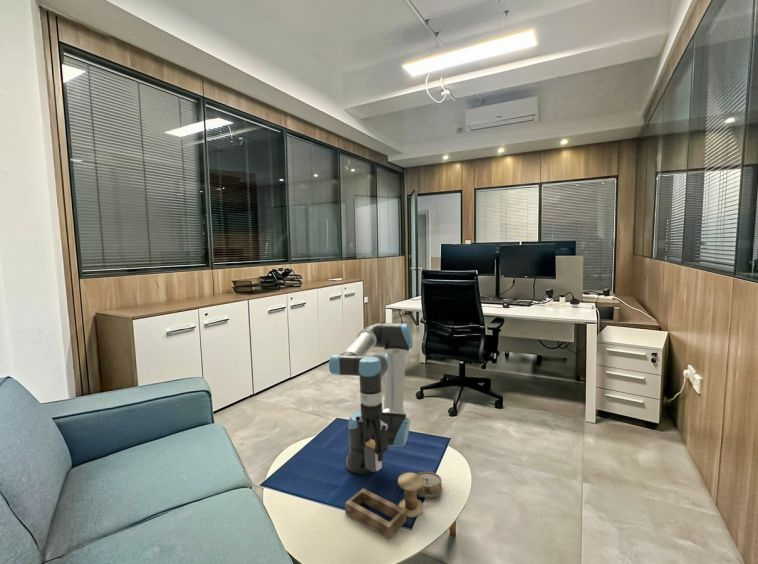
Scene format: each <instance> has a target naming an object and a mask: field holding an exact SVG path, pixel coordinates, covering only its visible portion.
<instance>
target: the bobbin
mask: <svg viewBox="0 0 758 564" xmlns="http://www.w3.org/2000/svg"><path fill="white" fill-rule="evenodd" d="M397 484H398V486H399V487H400V488H401V489H403V490H404V498H403V499H402V500H401V501H399V504H398V506H399V507H401V508H403V509H405V510H406V518H416V517H419V516H420V515H422V514H423V512H424V503H423V502H422V501H421V500H420V499H418V496H417V489H419V488H421V487H422V485H423V479H422V477H421V476H420V475H418V473H416V472H405V473H402V474H400V475H399V476H398V478H397Z"/></svg>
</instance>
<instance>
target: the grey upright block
mask: <svg viewBox="0 0 758 564" xmlns="http://www.w3.org/2000/svg"><path fill="white" fill-rule="evenodd" d="M376 451H377V450H376V445H375V440H372V439H370V440H368V441H367V442H366V446H365V468H366V469H368V470H371V471H373V472H372V473H375V472H377V471H376V469H375V452H376Z"/></svg>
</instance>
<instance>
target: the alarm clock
mask: <svg viewBox="0 0 758 564" xmlns="http://www.w3.org/2000/svg"><path fill="white" fill-rule="evenodd" d="M417 474H418V475H420V476H421V477H422V479H423V485H422V487H421V488H419V489H417V497H419V498H422V497H423V498H425V499H432V498H438V497H439V496H440V495H441V492H442V489H443V488H442V477H441V476H440V475H438V474H436V473H435V472H432V471H420V472H418V473H417Z"/></svg>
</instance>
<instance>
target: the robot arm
mask: <svg viewBox="0 0 758 564" xmlns="http://www.w3.org/2000/svg"><path fill="white" fill-rule="evenodd" d="M413 345H414V344H413V334H412V329H411V326H410V325H409V324H408V323H403V322H402V323H401V322H396V323H392V322H389V323H387V322H385V323H384V322H378V323H372V324H370V325H368V326H367V327H364V328H363V329H362V330H360V332H358V334H357V335H356V339H355V340H354V341H353V342H352V343H351V344H350V345H349V346H348V347H347V348H346V349H345V350H344V351H343V353H342V354H333V355H331V356H330V359H329V361H328V369H329V373H330V374H331V375H333V376H334V375H336V376H353V377H359V395H360V410H359V411H356V412H354V413H352V414H351V415H350V416H349V418H348V439H349V441H348V443H349V449H348V451H347V452H348V453H347V457H346V459H345V462H346V463H345V464H346V469H347V470H348V471H350V473H351V472H352V473H354V474H357V475H365V474H369V473H374V472H373V471H371V470H368V469H366V468H365V446H366V442H367V441H368V440H370V439H372V440H375V445H376V450H377V451H376V452H375V469H376V471H375V472H378V471H379V470H380V469H382V468H383V460H384V453H386V452H387V451H388V449H389V448H388V447H394V448H395V447H404V446H405V445H406V443H407V442H408V441H407V440H408V438H409V431H410V422H411V421H410V419H409V418H408V417H407V413H406V412H405V410H404V395H405V393H404V392H405V377H406V376H405V374H406V373H405V372H406V371H405V370H406V356H407V355H408V354H409V353H410V350H411V349H412V348H413ZM374 348H384V349H383V351H384V353H385V354H386V355H385V354H383V353H381V352H379V353H375V354H373V355H367V353H368V352H369V351H370V350H372V349H374ZM383 376H385V383H384V385H385V386H384V399H383V393H382V391H383V390H382V378H383Z"/></svg>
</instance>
